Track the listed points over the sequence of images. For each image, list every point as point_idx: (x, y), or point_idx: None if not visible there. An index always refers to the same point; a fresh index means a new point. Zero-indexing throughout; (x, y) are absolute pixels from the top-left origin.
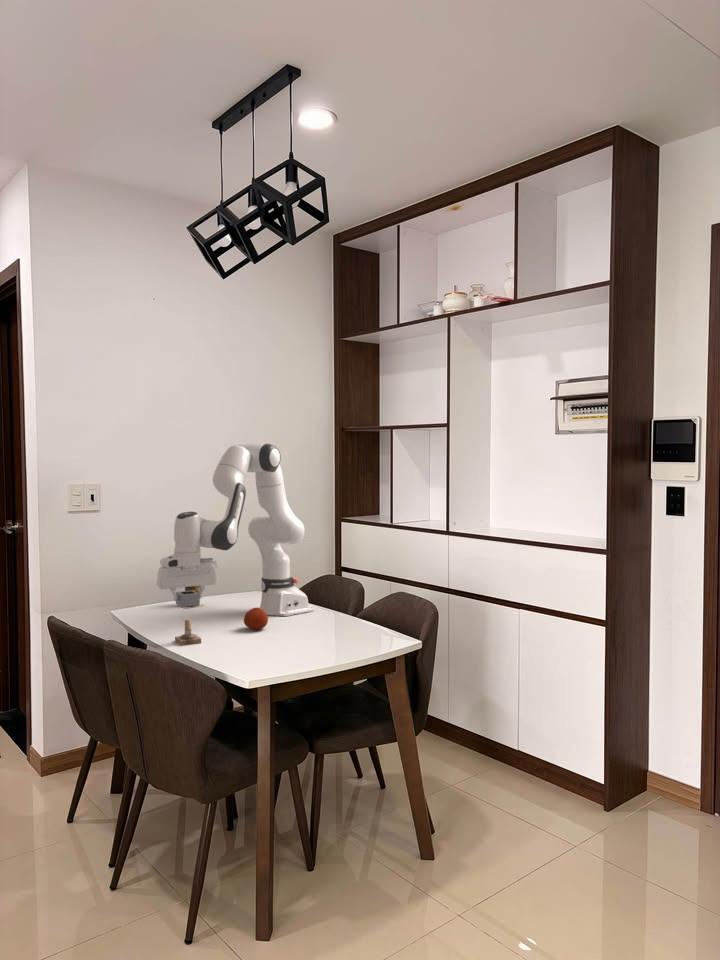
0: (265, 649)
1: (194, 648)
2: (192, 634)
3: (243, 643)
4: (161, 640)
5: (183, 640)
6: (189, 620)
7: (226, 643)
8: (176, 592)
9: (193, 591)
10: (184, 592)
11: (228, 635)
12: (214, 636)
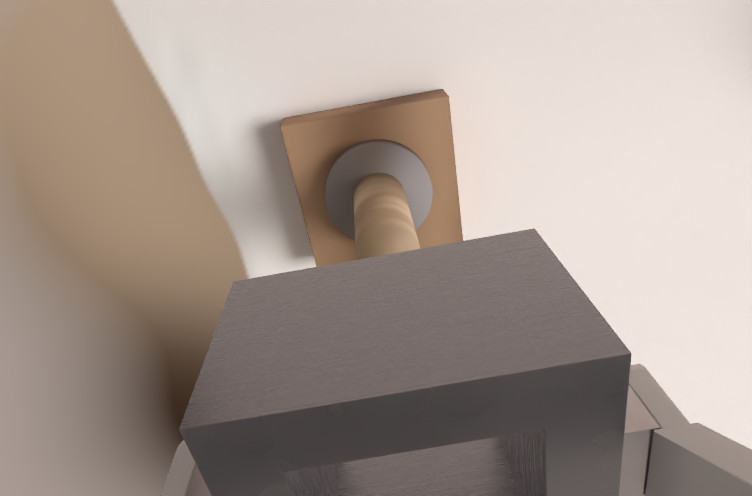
0: (725, 432)
1: None
2: (417, 182)
3: (688, 311)
4: (173, 61)
5: (336, 254)
6: None
7: (601, 284)
8: (200, 472)
9: (574, 460)
10: (380, 446)
11: (706, 86)
12: (599, 79)
